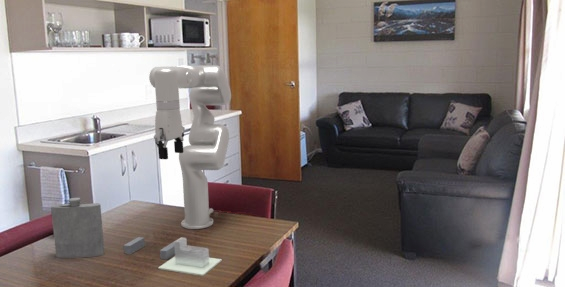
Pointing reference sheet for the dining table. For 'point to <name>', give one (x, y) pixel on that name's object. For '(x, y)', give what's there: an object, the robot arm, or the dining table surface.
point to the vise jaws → (139, 243)
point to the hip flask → (77, 229)
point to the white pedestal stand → (190, 254)
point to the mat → (189, 267)
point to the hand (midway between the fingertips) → (171, 155)
